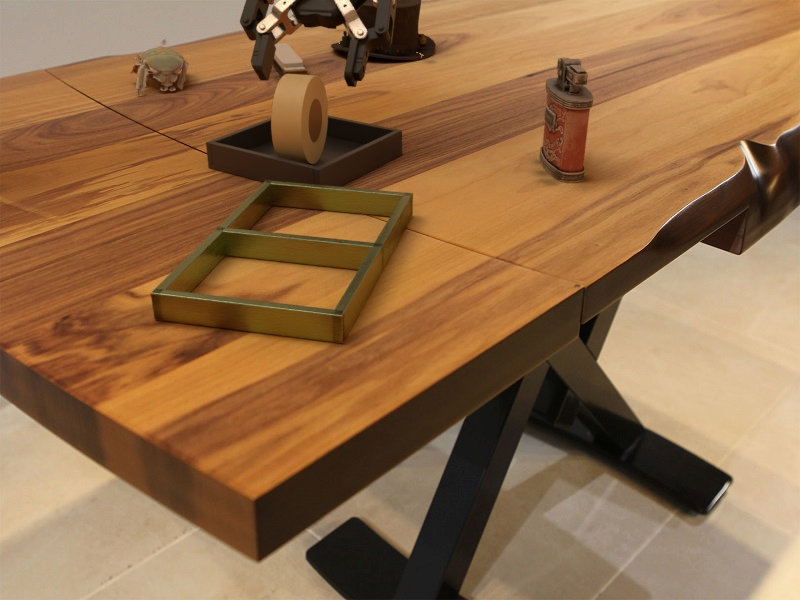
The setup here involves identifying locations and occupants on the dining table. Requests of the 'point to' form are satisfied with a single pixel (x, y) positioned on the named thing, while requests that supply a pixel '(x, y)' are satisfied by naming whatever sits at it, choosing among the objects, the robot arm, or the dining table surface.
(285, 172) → the tray
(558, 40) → the dining table surface
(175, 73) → the crab toy
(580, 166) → the lighter
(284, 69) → the harmonica
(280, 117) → the tape
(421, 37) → the top hat
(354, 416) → the dining table surface
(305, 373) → the dining table surface
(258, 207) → the rack
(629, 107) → the dining table surface
